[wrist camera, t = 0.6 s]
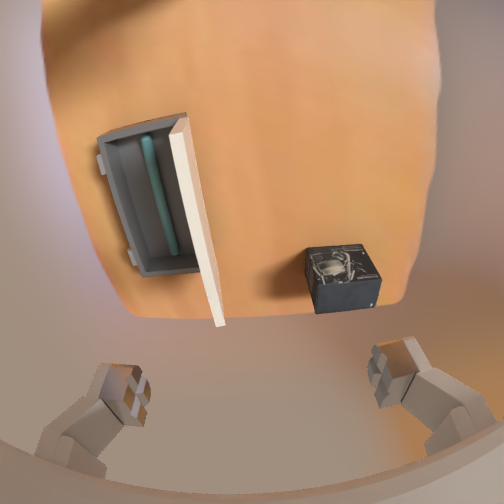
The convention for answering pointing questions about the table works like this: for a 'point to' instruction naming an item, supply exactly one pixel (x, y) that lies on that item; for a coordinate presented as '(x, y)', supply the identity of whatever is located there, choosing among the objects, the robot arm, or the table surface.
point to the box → (341, 278)
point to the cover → (196, 214)
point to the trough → (149, 196)
